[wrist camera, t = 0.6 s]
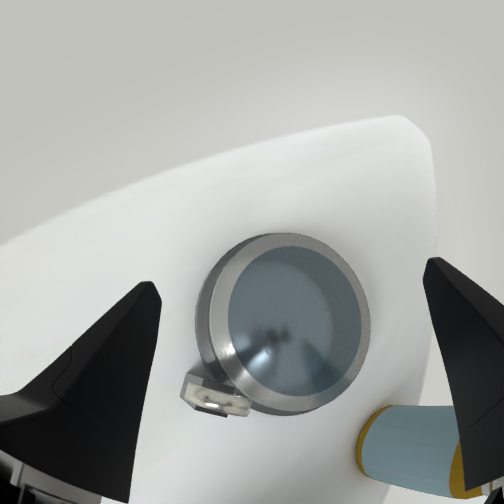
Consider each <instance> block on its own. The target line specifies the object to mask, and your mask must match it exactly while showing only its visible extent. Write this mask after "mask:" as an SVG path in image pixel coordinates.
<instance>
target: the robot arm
mask: <svg viewBox="0 0 504 504" xmlns="http://www.w3.org/2000/svg"><path fill="white" fill-rule="evenodd" d="M423 285H424V289H425V293H426V298H427V302H428V306H429V311H430V315H431V320H432V324H433V328H434V331H435V334H436V338H437V341H438V344H439V348H440V351H441V355H442V358H443V362H444V366H445V370H446V373H447V378H448V382H449V386H450V390H451V394H452V400H453V405H454V410H455V415H456V420H457V426H458V432H459V440H460V447H461V454H462V463H463V473H464V486H465V492H466V491H469V490H472V489H474V488H477V487H480V486H482V485H485V484H487V483H490V482H492V481H494V480H497V479H499V478H501V482H502V486H500V487H498V488H496V489H494V490H492V491H491V493H490V495H489V496H488V498H487V500H486V501H485V503H484V504H504V305H503V304H501V303H500V302H499V301H498V300H497V299H495V298H494V297H493V296H491V295H490V294H489V293H488V292H487V291H485V290H484V289H483V288H481V287H480V286H479V285H478V284H476V283H475V282H474V281H472V280H471V279H469V278H468V277H467V276H466V275H464V274H463V273H461V272H460V271H459V270H457V269H456V268H455V267H453V266H452V265H451V264H449V263H448V262H446V261H445V260H444V259H442V258H440V257H433V258H429V259H428V261H427V264H426V268H425V272H424V276H423ZM161 306H162V301H161V297H160V295H159V293H158V291H157V289H156V287H155V285H154V283H153V282H151V281H143V282H140V283H139V284H137V285H136V286H135V287H134V288H133V289H132V290H131V291H130V292H128V293H127V294H126V295H125V296H124V297H123V298H122V299H121V300H119V301H118V302H117V303H116V304H115V305H114V306H113V307H112V308H111V309H110V310H108V311H107V312H106V313H105V314H104V315H103V316H102V317H101V318H100V319H99V320H97V321H96V322H95V323H94V324H93V325H92V326H91V327H90V328H89V329H88V330H87V331H86V332H85V333H84V334H82V335H81V336H80V337H79V338H78V339H77V340H76V341H75V342H74V343H73V344H72V346H70V347H69V348H68V349H67V350H66V351H65V352H64V353H62V354H61V355H60V356H59V357H58V358H57V359H56V360H55V361H54V362H53V363H52V364H50V365H49V366H48V367H47V368H46V369H45V370H43V371H42V372H41V373H40V374H39V375H38V376H36V377H35V378H34V379H33V380H32V381H31V382H29V383H28V384H27V385H26V386H25V387H23V388H22V389H21V390H19V391H18V392H15V393H13V394H9V395H1V396H0V504H100V503H101V499H102V496H103V497H106V498H109V499H113V500H116V501H119V502H123V503H127V504H128V502H129V496H130V488H131V480H132V473H133V466H134V459H135V451H136V445H137V439H138V433H139V427H140V422H141V416H142V411H143V405H144V400H145V395H146V390H147V385H148V381H149V376H150V371H151V367H152V362H153V357H154V353H155V349H156V344H157V337H158V329H159V321H160V314H161Z"/></svg>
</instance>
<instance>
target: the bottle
mask: <svg viewBox="0 0 504 504" xmlns="http://www.w3.org/2000/svg"><path fill="white" fill-rule="evenodd" d="M356 457H357V463H358V466H359V469H360V471H361V472H362V473H363V474H364V475H365V476H367V477H370V478H372V479H375V480H378V481H382V482H385V483H389V484H392V485H396V486H400V487H403V488H407V489H411V490H416V491H420V492H424V493H429V494H433V495H438V496H444V497H449V498H457V499H469V498H473V497H478V496H482V495H485V496H489V495H490V493H491V491H492V490H494V489H496V488H498V487H500V486H502V482H501V478H499V479H497V480H494V481H492V482H490V483H487V484H485V485H482V486H480V487H477V488H474V489H472V490H469V491H466V492H465V486H464V473H463V463H462V454H461V447H460V440H459V432H458V426H457V420H456V415H455V410H454V406H403V405H395V406H394V405H390V406H387V407H384V408H382V409H380V410H379V411H378V412H377V413H376V414H374V415H373V416H372V417H371V418H370V420H369V421H368V422H367V424H366V425H365V426H364V428H363V429H362V432H361V434H360V436H359V438H358V443H357V447H356Z"/></svg>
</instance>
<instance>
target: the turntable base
mask: <svg viewBox="0 0 504 504" xmlns="http://www.w3.org/2000/svg"><path fill="white" fill-rule="evenodd" d="M275 234H277V233H275ZM267 235H271V234H264V235H259V236H256V237H253V238H250V239H247V240H245V241H243V242H241V243H239V244H238V245H236V246H235V247H233V248H232V249H231V250H229V251H228V252H227V253H226V254H225V255H224V256H223V257H222V258H221V259H220V260H219V261H218V262H217V264H216V265H215V266H214V267H213V269H212V270H211V271H210V273H209V274H208V276H207V278H206V280H205V281H204V284H203V286H202V288H201V291H200V293H199V297H198V301H197V305H196V314H195V333H196V339H197V345H198V348H199V351H200V355H201V358H202V360H203V362H204V364H205V366H206V368H207V370H208V372H209V373H210V375H211V376H212V378H213V379H214V381H212V380H208V379H205V378H201V377H198V376H195V375H191V374H188V373H186V376H185V380H184V383H183V387H182V390H181V394H180V397H181V398H182V399H183V400H184V401H185V402H186V403H188V404H189V405H190V406H191V407H192V408H193V409H194V410H197V411H201V412H205V413H209V414H213V415H218V416H222V417H226V418H227V415H228V414H230V415H235V416H242V417H248V415H249V411H250V408H251V409H253V410H256V411H259V412H262V413H266V414H270V415H278V416H292V415H298V414H303V413H307V412H309V411H312V410H315V409H317V408H319V407H317V408H315V409H310V410H306V411H283V410H279V409H275V408H271V407H268V406H264V405H262V404H260V403H257V402H255V401H253V400H251V399H250V398H248V397H247V396H245V395H244V394H242V393H241V392H240V391H239V390H238V389H236V388H235V387H234V386H233V385H232V383H231V382H230V381H229V380H228V379H227V378H226V376H225V375H224V373H223V372H222V370H221V369H220V367H219V365H218V363H217V361H216V359H215V357H214V354H213V351H212V348H211V345H210V341H209V335H208V327H207V313H208V304H209V300H210V295H211V292H212V289H213V286H214V284H215V281H216V279H217V278H218V276H219V274H220V272H221V271H222V269H223V268H224V267H225V265H226V264H227V263H228V262H229V261H230V260H231V259H232V258H233V257H234V256H235V255H236V254H237V253H238V252H239V251H240V250H241V249H242V248H243V247H245V246H246V245H248V244H249V243H251V242H253V241H255V240H257V239H259V238H261V237H264V236H267ZM320 407H321V406H320Z"/></svg>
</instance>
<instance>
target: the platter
mask: <svg viewBox="0 0 504 504" xmlns="http://www.w3.org/2000/svg"><path fill="white" fill-rule="evenodd" d="M207 327H208V335H209V341H210V345H211V348H212V351H213V354H214V357H215V359H216V361H217V363H218V365H219V367H220V369H221V370H222V372H223V373H224V375H225V376H226V378H227V379H228V380H229V381H230V382H231V383H232V385H233V386H234V387H235V388H236V389H238V390H239V391H240V392H241V393H242V394H244V395H245V396H247V397H248V398H250V399H251V400H253V401H255V402H257V403H260V404H262V405H264V406H268V407H271V408H275V409H279V410H283V411H306V410H310V409H315V408H317V407H320V406H323V405H325V404H327V403H329V402H331V401H332V400H334V399H335V398H337V397H338V396H339V395H341V394H342V393H343V392H344V391H345V390H346V389H347V388H348V387H349V386H350V384H351V383H352V382H353V381H354V379H355V378H356V376H357V374H358V373H359V371H360V369H361V367H362V365H363V363H364V360H365V357H366V354H367V351H368V346H369V340H370V315H369V308H368V304H367V300H366V297H365V294H364V291H363V289H362V286H361V284H360V282H359V280H358V278H357V277H356V275H355V273H354V272H353V270H352V269H351V268H350V266H349V265H348V264H347V262H346V261H345V260H344V259H343V258H342V257H341V256H340V255H339V254H338V253H337V252H335V251H334V250H333V249H331V248H330V247H329V246H327V245H326V244H324V243H322V242H320V241H318V240H316V239H314V238H311V237H309V236H305V235H301V234H294V233H277V234H271V235H267V236H264V237H261V238H259V239H257V240H255V241H253V242H251V243H249V244H248V245H246V246H245V247H243V248H242V249H241V250H240V251H239V252H238V253H237V254H236V255H235V256H234V257H233V258H232V259H231V260H230V261H229V262H228V263H227V264H226V265H225V267H224V268H223V269H222V271H221V272H220V274H219V276H218V278H217V279H216V281H215V284H214V286H213V289H212V292H211V295H210V300H209V304H208V313H207Z"/></svg>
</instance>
